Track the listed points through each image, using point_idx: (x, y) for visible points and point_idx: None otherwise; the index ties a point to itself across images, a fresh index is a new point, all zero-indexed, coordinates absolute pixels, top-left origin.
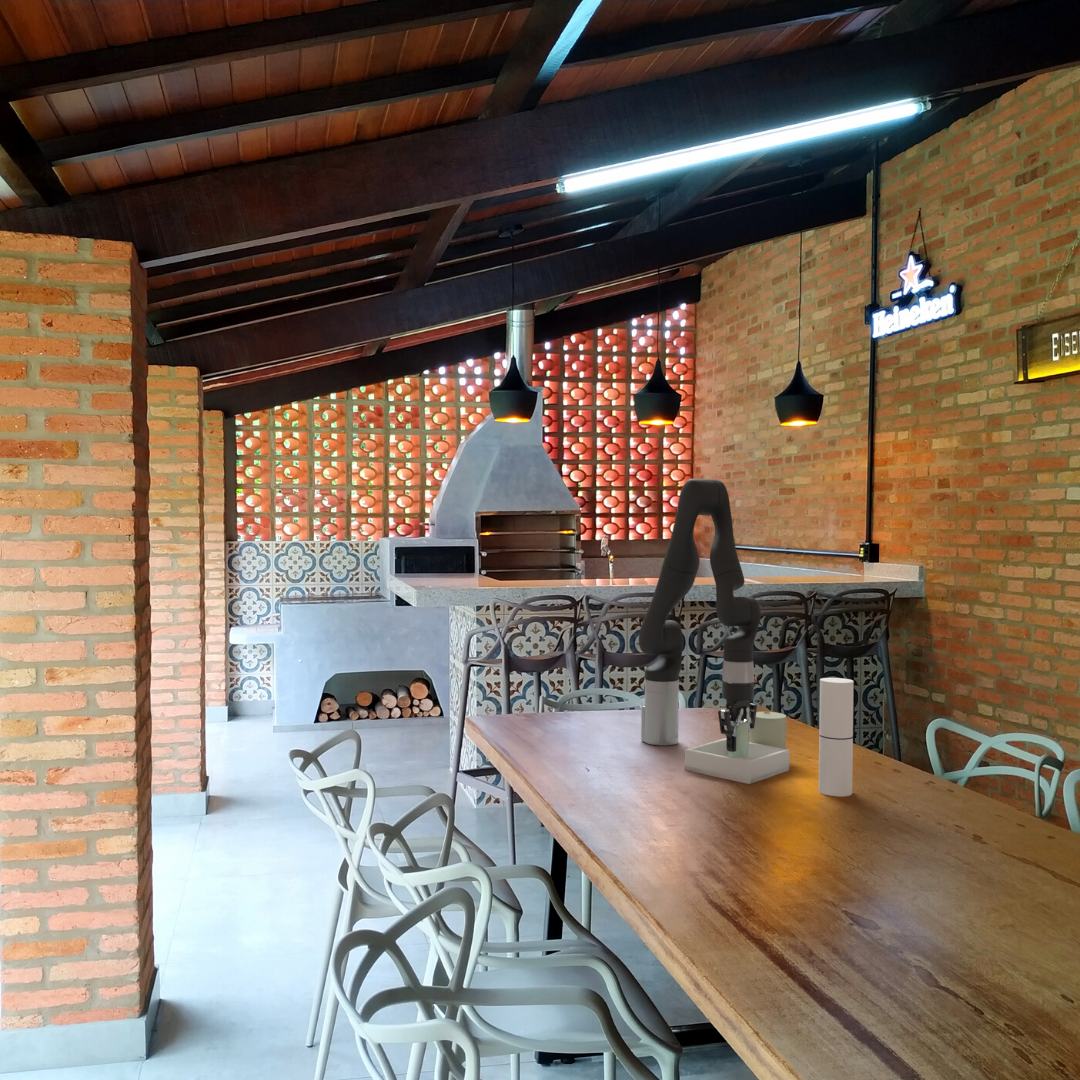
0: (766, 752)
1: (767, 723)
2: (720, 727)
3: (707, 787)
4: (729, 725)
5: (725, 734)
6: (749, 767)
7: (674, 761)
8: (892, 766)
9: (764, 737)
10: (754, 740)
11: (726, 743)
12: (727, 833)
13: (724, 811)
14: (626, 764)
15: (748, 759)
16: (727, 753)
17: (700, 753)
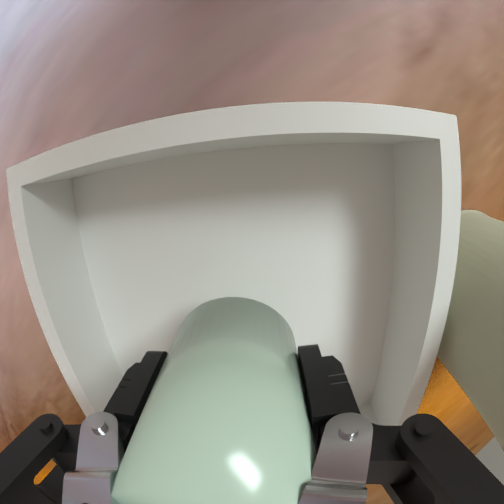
0: (398, 376)
1: (499, 440)
2: (16, 442)
3: (29, 347)
4: (53, 500)
5: (79, 426)
6: None
7: (144, 30)
8: (490, 433)
9: (465, 379)
10: (466, 314)
11: (118, 384)
12: (3, 434)
13: (16, 418)
14: (22, 22)
15: (386, 274)
16: (185, 318)
17: (25, 267)
